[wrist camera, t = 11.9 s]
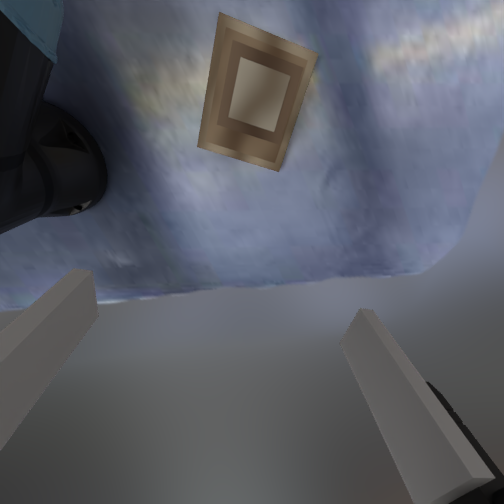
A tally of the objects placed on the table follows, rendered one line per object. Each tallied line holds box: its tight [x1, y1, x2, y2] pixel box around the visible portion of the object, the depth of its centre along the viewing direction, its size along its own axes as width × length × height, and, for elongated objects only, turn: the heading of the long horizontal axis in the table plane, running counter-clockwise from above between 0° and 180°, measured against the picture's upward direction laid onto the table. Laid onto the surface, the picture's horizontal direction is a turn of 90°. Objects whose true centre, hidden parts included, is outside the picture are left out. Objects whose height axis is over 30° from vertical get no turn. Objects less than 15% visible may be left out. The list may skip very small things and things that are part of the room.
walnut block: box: [217, 40, 303, 145], centre depth 26 cm, size 7×7×7 cm
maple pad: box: [197, 12, 318, 172], centre depth 30 cm, size 12×14×2 cm
